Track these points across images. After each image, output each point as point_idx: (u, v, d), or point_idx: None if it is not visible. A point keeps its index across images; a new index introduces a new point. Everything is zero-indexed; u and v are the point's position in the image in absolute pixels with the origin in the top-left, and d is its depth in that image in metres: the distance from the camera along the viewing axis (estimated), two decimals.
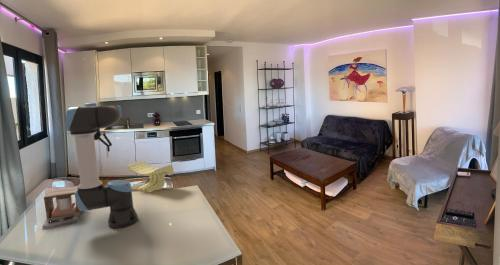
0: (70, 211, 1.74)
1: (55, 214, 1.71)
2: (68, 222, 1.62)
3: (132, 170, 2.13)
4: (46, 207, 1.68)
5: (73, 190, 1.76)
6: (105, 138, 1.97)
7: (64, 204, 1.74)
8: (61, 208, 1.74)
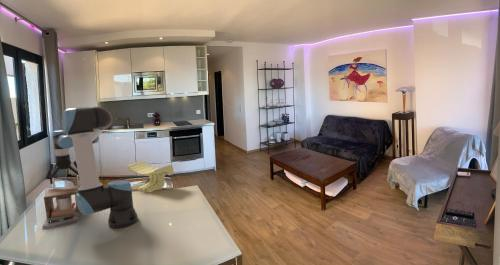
0: (70, 211, 1.74)
1: (55, 214, 1.71)
2: (68, 222, 1.62)
3: (132, 170, 2.13)
4: (46, 207, 1.68)
5: (73, 190, 1.76)
6: (76, 166, 1.89)
7: (64, 204, 1.74)
8: (61, 208, 1.74)
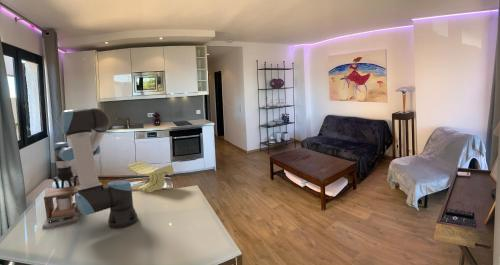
0: (70, 211, 1.74)
1: (55, 214, 1.71)
2: (68, 222, 1.62)
3: (132, 170, 2.13)
4: (46, 207, 1.68)
5: (73, 190, 1.76)
6: (74, 181, 1.89)
7: (64, 204, 1.74)
8: (61, 208, 1.74)
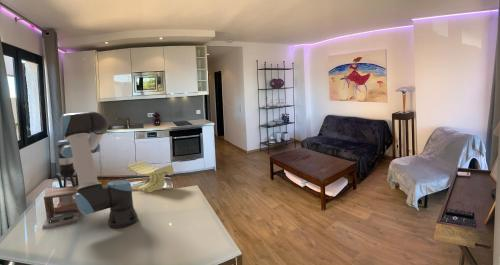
0: (72, 206, 1.81)
1: (58, 209, 1.79)
2: (68, 222, 1.62)
3: (132, 170, 2.13)
4: (46, 207, 1.68)
5: (73, 190, 1.76)
6: (76, 177, 1.97)
7: (66, 200, 1.80)
8: (63, 204, 1.80)
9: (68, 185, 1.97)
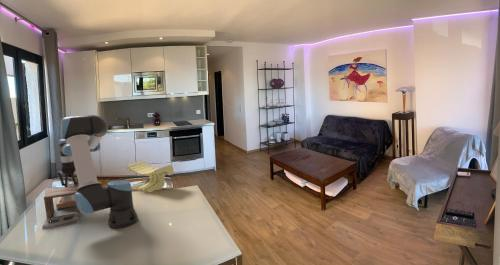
0: (73, 202, 1.87)
1: (60, 205, 1.84)
2: (68, 222, 1.62)
3: (132, 170, 2.13)
4: (46, 207, 1.68)
5: (73, 190, 1.76)
6: None
7: (67, 197, 1.86)
8: (65, 200, 1.86)
9: (69, 182, 2.02)
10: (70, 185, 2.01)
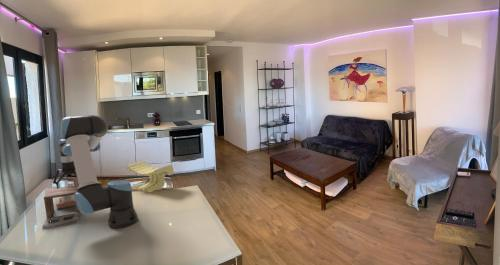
0: (74, 202, 1.87)
1: (60, 205, 1.84)
2: (68, 222, 1.62)
3: (132, 170, 2.13)
4: (46, 207, 1.68)
5: (73, 190, 1.76)
6: None
7: (67, 197, 1.86)
8: (65, 200, 1.86)
9: (69, 182, 2.02)
10: (70, 185, 2.01)
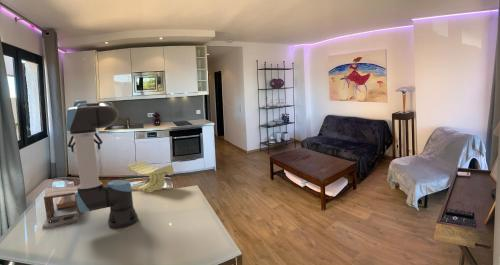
0: (74, 202, 1.87)
1: (60, 205, 1.84)
2: (68, 222, 1.62)
3: (132, 170, 2.13)
4: (46, 207, 1.68)
5: (73, 190, 1.76)
6: None
7: (67, 197, 1.86)
8: (65, 200, 1.86)
9: (69, 182, 2.02)
10: (70, 185, 2.01)
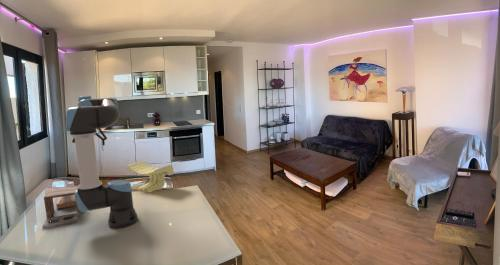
0: (74, 202, 1.87)
1: (60, 205, 1.84)
2: (68, 222, 1.62)
3: (132, 170, 2.13)
4: (46, 207, 1.68)
5: (73, 190, 1.76)
6: (100, 132, 1.94)
7: (67, 197, 1.86)
8: (65, 200, 1.86)
9: (69, 182, 2.02)
10: (70, 185, 2.01)
